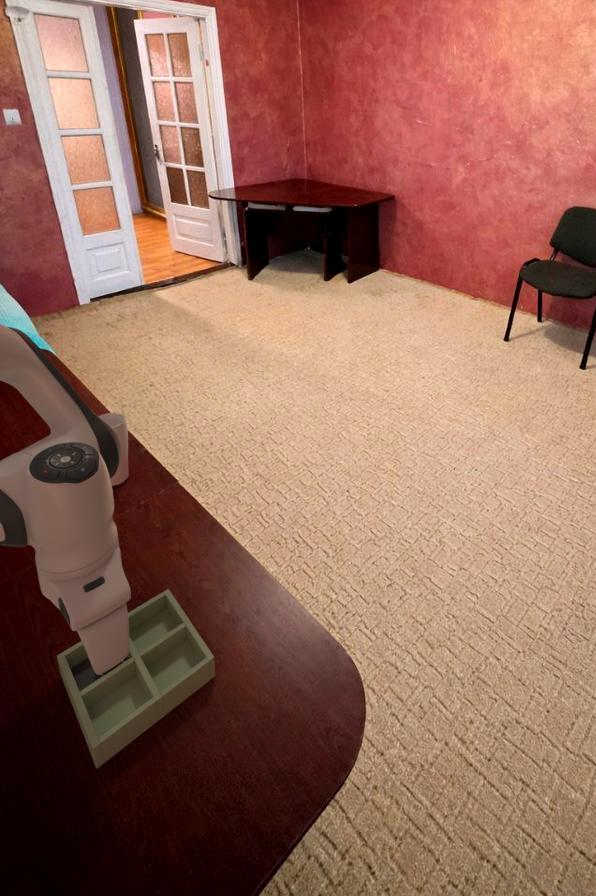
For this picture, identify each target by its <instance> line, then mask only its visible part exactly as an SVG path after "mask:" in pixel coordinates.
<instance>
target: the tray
mask: <svg viewBox="0 0 596 896" xmlns="http://www.w3.org/2000/svg"><path fill="white" fill-rule="evenodd" d="M128 617H129V641H130V648H129V653H128V655H127V657H126V658H125V659H124V660H123V661H124V663H122V664H121V665H119V666H118V667H116V668H115V669H113V670H112V671H110V672H109V673H107V674H106V675H98V674H96V673H95V672H94V670H93V668H92V666H91V663H90V660H89V658H88V655H87V653H86V650H85V648H84V646H83V643H82V641H81V640H80V641H79V642H77V643H76V644H74V645H73V646H71V647H69V648H67V649H66V650H64V651H62V652H61V653H59V654H57V655H56V659H57V664H58V668H59V674H60V677H61V680H62V682H63V685H64V687H65V690H66V693H67V696H68V698H69V701H70V703H71V706H72V709H73V711H74V713H75V716H76V719H77V722H78V725H79V726H80V730H81V732H82V734H83V738H84V739H85V742H86V745H87V749H88V751H89V753H90V756H91V757H92V761H93V763H94V766H95V769H99V768H100V767H101V766H103V765H104V764H106V763H107V762H108V761H109V760H111V758H113V757H114V756H116V754H118V753H119V752H120V751H122V750H123V749H124V748H125V747H127V746H128V745H129V744H131V743H132V742H133V741H135V740H136V739H137V738H138V737H139V736H140V735H143V734H144V733H145V732H146V731H147V730H149V729H150V728H151V727H153V726H154V725H155V724H156V723H158V722H159V721H160V720H161V719H163V718H164V717H165V716H166V715H168V714H169V713H171V711H173V710H174V709H175V708H177V707H178V706H179V705H181V704H182V703H183V702H184V701H185V700H187V699H188V698H190V696H193V694H195V693H196V692H197V691H198V690H199V689H201V688H202V687H203V686H205V685H206V684H207V683H208V682H210V681H211V680H212V679H214V678H215V677H216V676H217V675H216V660H215V656H214V654H213V653H212V651H211V650H210V649H209V647H208V645H207V644H206V642H205V641H204V640H203V638H202V637H201V635H200V633H199V632H198V630H197V629H196V628H195V626H194V624H193V623H192V622H191V620H190V619H189V617H188V616H187V614H186V612H185V611H184V610H183V608H182V606H181V605H180V604H179V602H178V601H177V599H176V598H175V596H174V595H173V593H172V591H171V590H170V589H169V588H167V589H166V590H164V591H162V592H161V593H159V594H157V595H156V596H154V597H152V598H150V599H149V600H147V601H146V602H144V603H142V604H141V605H139V606H137V607H135V608H134V609H132V610H130V611H128Z"/></svg>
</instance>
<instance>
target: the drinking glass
mask: <svg viewBox="0 0 596 896" xmlns="http://www.w3.org/2000/svg"><path fill="white" fill-rule="evenodd" d="M97 416H98V417H100V418H101V419H102V420H103V421H104V422H105V423H107V424H108V425H109V426H110V427H111V428H112V429H113V430H114V431H115V432H116V434H117V435H118V437H119V439H120V441H121V446H122V453H121V459H120V463H119V466H118V469H117V471H116V473H115V475H114V476H113V477H112V478H111V479H110V480H111V484H112V487H116V486H119V485H121V484H123V483H125V482H126V481H127V480H128V479H129V476H130V469H129V430H128V429H129V428H128V423H127V416H125V414H124V413H121V412H108V413H104V414H101V415H97ZM126 479H127V480H126ZM125 480H126V481H125ZM115 485H116V486H115Z"/></svg>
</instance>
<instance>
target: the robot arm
mask: <svg viewBox="0 0 596 896" xmlns="http://www.w3.org/2000/svg"><path fill="white" fill-rule="evenodd" d="M0 381H1V382H2V383H3V382H4V383H6V384H8V385H10V386H12V387H13V388H15V389H16V390H17V391H18V392H19V394H21V395H22V397H23V398H24V399H25V400H26V401H27V402H28V404H29V405H30V406H31V407H32V408H33V409H34V411H35V412H36V413H37V414H38V415H39V416H40V418H41V419H42V420H43V422H45V424H46V425H47V426H48V427H49V429H50V433H49V434H48V435H47V436H45V437H43V438H42V439H40V440H38V441H36V442H34V443H32V444H30V445H28V446H27V447H25V448H23V449H21V450H19V451H18V452H14V453H12V454H11V455H9V456H7V457H5V458H3V459H1V460H0V546H3V547H14V548H24V547H27V546H31V547H32V548H33V549H34V550H35V553H34V554H35V556H34V560H35V562H34V563H35V566H36V572H37V577H38V578H37V579H38V582H39V583H38V584H39V588H40V591H41V592H40V593H41V594H42V595H43V597H45V598H46V599H48V600H50V602H51V603H52V604H53V605H54V606H55V607H56V608H57V609H58V610H59V611H60V613H61V614H62V616H63V618H64V619H65V622H67V625H69V627H70V629H71V631H73V632H77V634H78V636H79V638H80V642H81V641H82V643H83V646H84V648H85V650H86V653H87V655H88V658H89V660H90V663H91V666H92V668H93V670H94V672H95V673H96V674H98V675H99V674H102V673H104V672H106V671H108V670H110V669H111V668H113V667H114V666H116V665H117V664H119V663H120V662H121V661H123V660H124V659H125V658H126V657H127V655H128V653H129V648H130V641H129V617H128V613H129V611H128V606H127V602H129V601H130V600H131V598H132V590H131V586H130V582H129V580H128V578H127V575H126V572H125V570H124V569H125V568H124V566H123V560H122V551H121V548H120V541H119V533H118V527H117V525H116V522H115V521H114V518H113V516H114V512H115V498H114V490H113V486H112V484H111V480H110V479H111V478H112V477H113V476H114V475H115V473H116V471H117V469H118V466H119V463H120V459H121V453H122V446H121V441H120V439H119V437H118V435H117V434H116V432H115V431H114V430H113V429H112V428H111V427H110V426H109V425H108V424H107V423H105V422H104V421H103V420H102V419H101V418H100V417H98V416H99V415H97V413H95V412H94V411H93V410H92V409H91V408H90V407H89V405H88V404H87V403H86V402H85V400H84V399H83V398H82V397H81V396H80V394H79V393H78V392H77V391H76V390H75V388H74V387H73V386H72V384H71V383H70V382H69V381H68V380H67V379H66V377H65V376H64V375H63V374H62V372H61V371H60V370H59V369H58V368H57V367H56V365H55V364H54V363H53V362H52V361H51V359H50V358H49V357H48V355H46V353H45V352H44V351H43V350H42V349H41V348H40V347H39V345H38V344H37V343H36V342H35V341H34V340H33V339H32V338H31V337H29V335H28V334H26V333H25V332H23V331H22V330H21V329H19V328H16V327H11V326H6V325H3V324H2V323H0Z"/></svg>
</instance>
